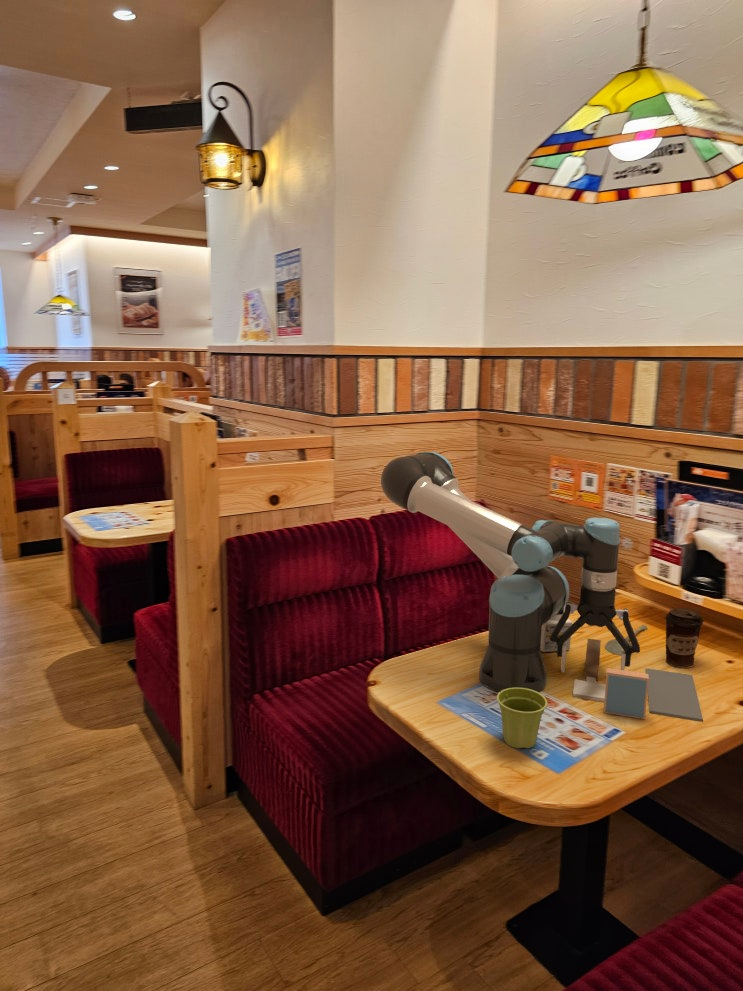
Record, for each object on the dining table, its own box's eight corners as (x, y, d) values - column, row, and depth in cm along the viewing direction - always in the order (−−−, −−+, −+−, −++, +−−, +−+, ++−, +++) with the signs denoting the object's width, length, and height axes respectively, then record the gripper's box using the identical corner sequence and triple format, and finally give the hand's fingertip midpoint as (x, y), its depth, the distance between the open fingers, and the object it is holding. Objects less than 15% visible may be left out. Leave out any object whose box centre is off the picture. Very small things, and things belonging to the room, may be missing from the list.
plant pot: (553, 739, 129) (556, 698, 127) (529, 760, 122) (532, 717, 120) (510, 722, 135) (512, 682, 133) (485, 741, 128) (487, 700, 126)
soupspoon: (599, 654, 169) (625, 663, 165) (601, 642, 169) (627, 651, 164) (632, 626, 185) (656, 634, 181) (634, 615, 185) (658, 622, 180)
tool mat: (649, 712, 139) (649, 710, 139) (645, 670, 158) (645, 668, 158) (702, 721, 136) (702, 719, 136) (692, 676, 155) (692, 674, 155)
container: (542, 652, 167) (547, 602, 165) (527, 640, 174) (531, 593, 172) (570, 650, 169) (575, 601, 167) (553, 638, 176) (558, 591, 174)
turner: (572, 696, 146) (574, 671, 144) (577, 660, 164) (579, 637, 162) (606, 702, 143) (608, 676, 142) (607, 664, 161) (609, 641, 160)
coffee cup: (703, 672, 157) (709, 620, 155) (665, 669, 159) (670, 617, 156) (693, 657, 166) (698, 607, 163) (657, 654, 167) (662, 604, 165)
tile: (603, 713, 139) (606, 672, 137) (603, 707, 141) (607, 667, 139) (645, 720, 136) (648, 679, 135) (644, 714, 139) (648, 673, 137)
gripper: (541, 585, 152) (536, 672, 156) (657, 598, 144) (649, 689, 148) (544, 575, 159) (539, 659, 163) (655, 587, 151) (647, 675, 155)
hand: (591, 674), depth 156 cm, fingers open, 12 cm apart
